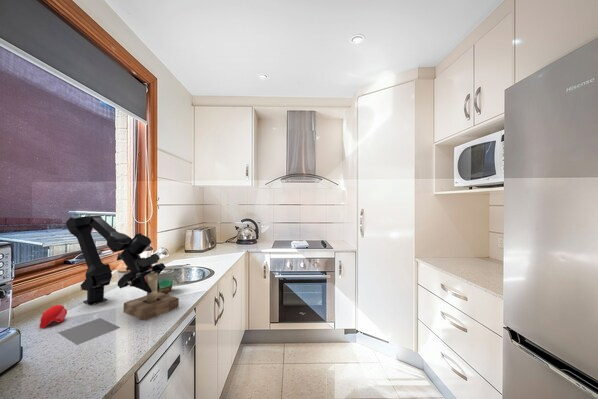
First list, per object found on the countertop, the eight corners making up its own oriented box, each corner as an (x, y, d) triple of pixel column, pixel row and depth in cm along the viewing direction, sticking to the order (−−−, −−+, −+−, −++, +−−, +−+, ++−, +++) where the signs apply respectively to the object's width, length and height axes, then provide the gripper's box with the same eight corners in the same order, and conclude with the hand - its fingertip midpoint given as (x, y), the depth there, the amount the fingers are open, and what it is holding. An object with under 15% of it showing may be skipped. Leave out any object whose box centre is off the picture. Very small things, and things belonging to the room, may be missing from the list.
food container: (154, 298, 112) (155, 276, 113) (147, 295, 116) (147, 274, 116) (179, 290, 123) (180, 270, 123) (172, 288, 126) (173, 268, 126)
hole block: (123, 312, 98) (123, 302, 98) (157, 300, 110) (158, 291, 110) (144, 321, 91) (144, 310, 91) (178, 307, 104) (178, 298, 104)
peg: (145, 309, 99) (146, 275, 99) (148, 305, 102) (149, 272, 102) (155, 308, 100) (156, 274, 100) (158, 304, 103) (158, 272, 103)
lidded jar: (146, 280, 138) (146, 263, 138) (128, 286, 127) (129, 268, 127) (130, 278, 140) (130, 261, 140) (111, 284, 130) (112, 266, 130)
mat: (57, 333, 82) (57, 332, 82) (99, 318, 93) (100, 317, 93) (77, 346, 76) (77, 344, 76) (120, 328, 86) (120, 327, 86)
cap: (56, 308, 93) (39, 306, 88) (71, 304, 93) (55, 301, 88) (49, 332, 89) (31, 330, 84) (65, 327, 89) (47, 325, 84)
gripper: (124, 253, 93) (147, 285, 90) (162, 244, 111) (183, 271, 108) (107, 272, 95) (129, 304, 92) (147, 261, 113) (167, 287, 110)
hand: (154, 290), depth 101 cm, fingers closed on peg, 4 cm apart
